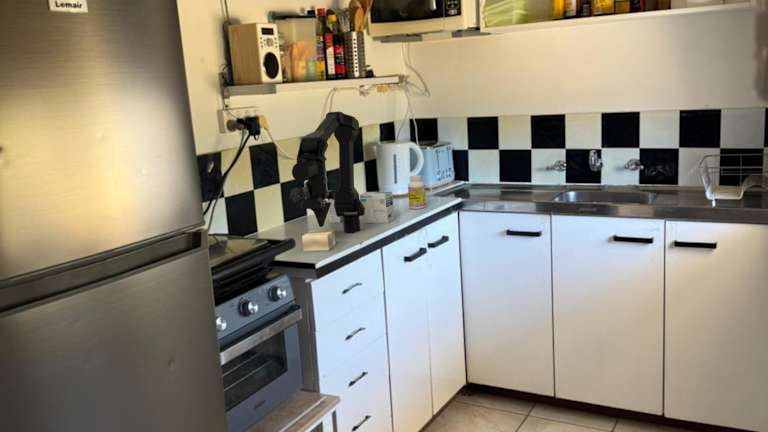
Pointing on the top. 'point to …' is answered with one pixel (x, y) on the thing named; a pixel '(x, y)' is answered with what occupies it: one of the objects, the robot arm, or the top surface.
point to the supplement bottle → (416, 193)
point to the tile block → (319, 241)
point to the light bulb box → (377, 207)
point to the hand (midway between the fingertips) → (321, 226)
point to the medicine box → (333, 213)
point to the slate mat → (334, 250)
